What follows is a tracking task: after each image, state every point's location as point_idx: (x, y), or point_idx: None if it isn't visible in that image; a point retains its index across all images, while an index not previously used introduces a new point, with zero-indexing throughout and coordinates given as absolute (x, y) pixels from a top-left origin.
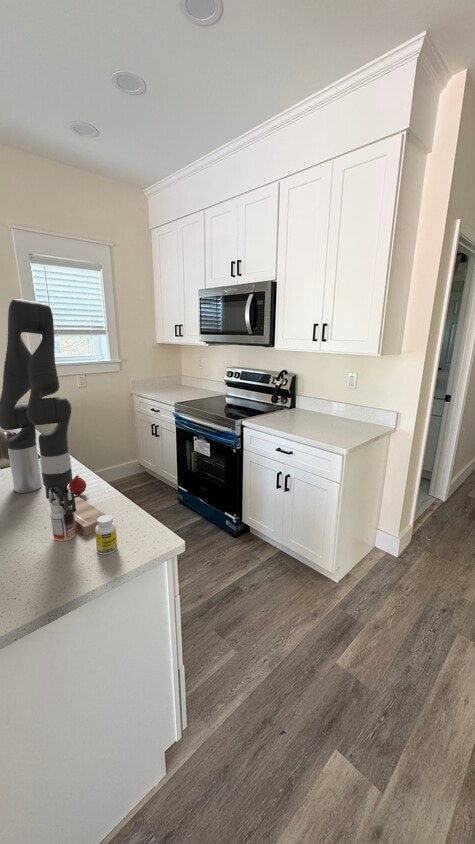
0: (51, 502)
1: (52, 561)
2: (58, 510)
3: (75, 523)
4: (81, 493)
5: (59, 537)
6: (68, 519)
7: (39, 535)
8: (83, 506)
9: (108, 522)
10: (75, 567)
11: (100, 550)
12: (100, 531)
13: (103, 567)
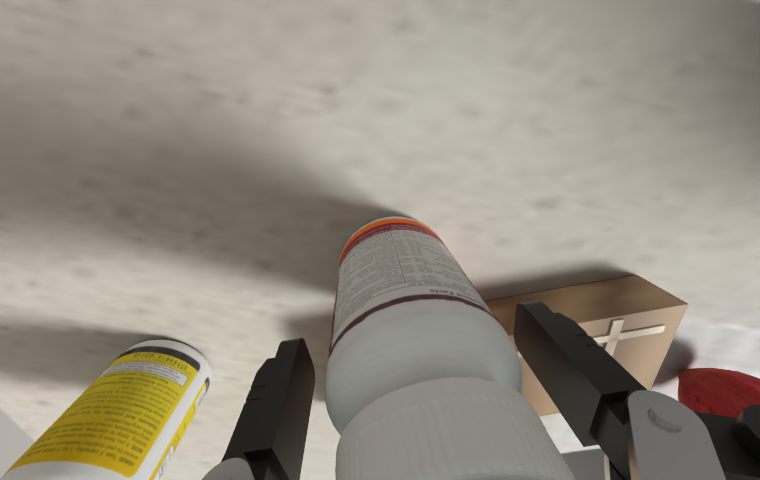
0: (624, 409)
1: (170, 155)
2: (348, 441)
3: None
4: (678, 390)
5: (351, 244)
6: (248, 407)
7: (497, 158)
8: (538, 396)
9: None
10: (60, 238)
11: (115, 361)
12: None
13: (20, 330)
